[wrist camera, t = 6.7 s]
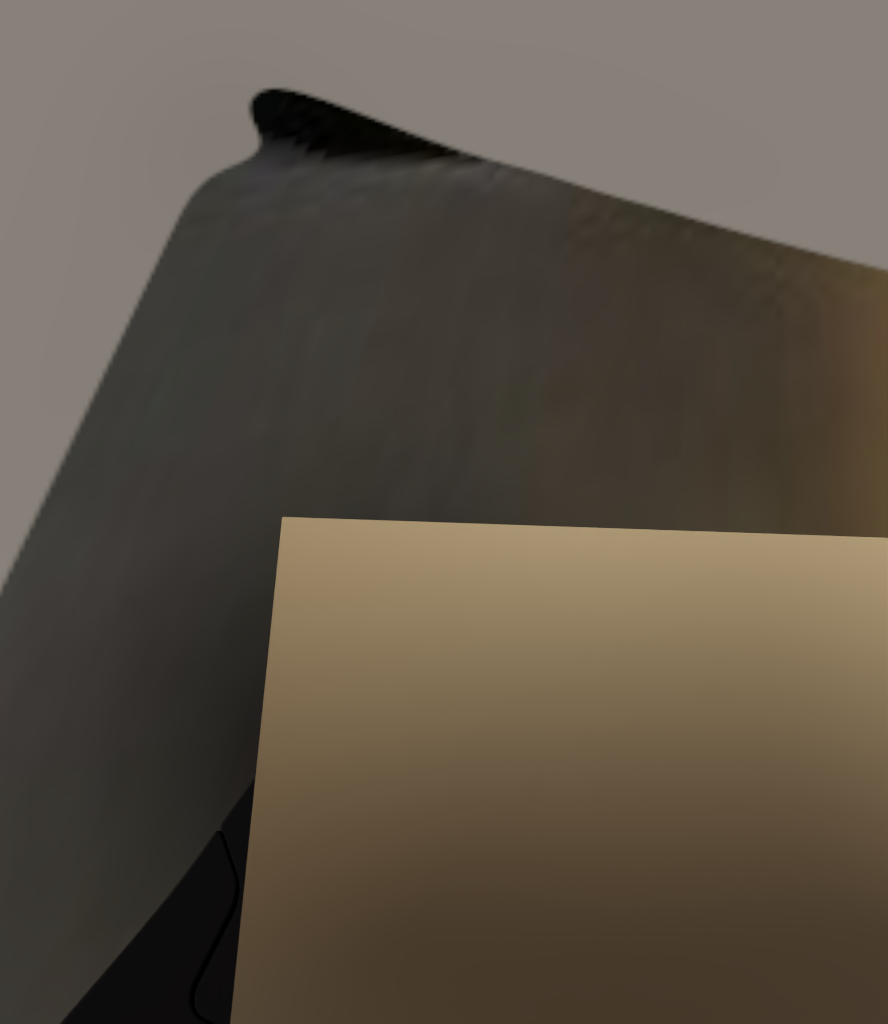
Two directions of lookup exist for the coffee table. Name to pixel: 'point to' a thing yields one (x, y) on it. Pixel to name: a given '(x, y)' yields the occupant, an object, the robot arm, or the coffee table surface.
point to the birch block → (569, 779)
